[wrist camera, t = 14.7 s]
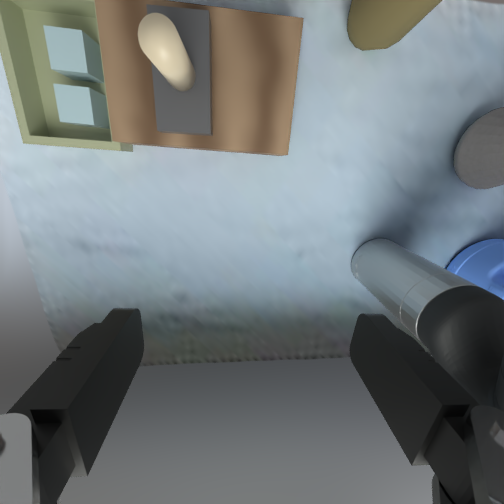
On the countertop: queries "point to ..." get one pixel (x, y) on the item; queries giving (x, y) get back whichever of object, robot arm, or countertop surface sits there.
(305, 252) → the countertop surface
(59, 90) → the light blue block
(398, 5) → the squeeze bottle
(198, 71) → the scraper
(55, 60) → the pale blue cube
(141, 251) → the countertop surface
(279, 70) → the flat wooden board
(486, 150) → the coffee pot
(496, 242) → the water jug
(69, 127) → the bin
